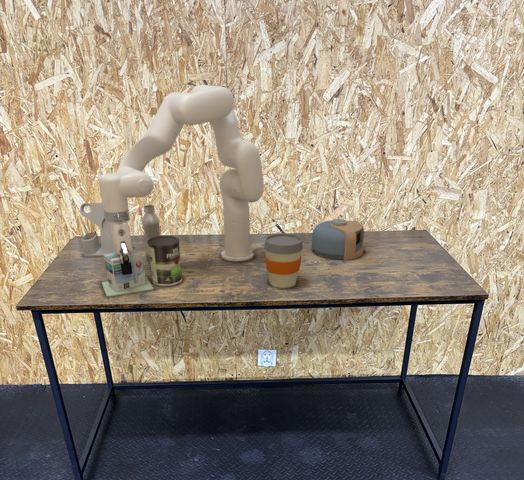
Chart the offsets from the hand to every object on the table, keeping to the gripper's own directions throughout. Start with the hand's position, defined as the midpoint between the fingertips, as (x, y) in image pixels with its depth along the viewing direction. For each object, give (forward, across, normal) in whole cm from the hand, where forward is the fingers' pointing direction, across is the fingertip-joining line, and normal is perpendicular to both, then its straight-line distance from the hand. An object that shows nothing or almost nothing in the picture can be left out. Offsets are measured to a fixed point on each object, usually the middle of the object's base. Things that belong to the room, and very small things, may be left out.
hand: (125, 269), depth 161 cm
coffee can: (+6, 0, -13) cm, 15 cm away
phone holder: (+6, +37, +1) cm, 38 cm away
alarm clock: (+6, +3, -82) cm, 82 cm away
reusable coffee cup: (+6, -17, -49) cm, 52 cm away
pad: (+6, 0, 0) cm, 6 cm away
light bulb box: (+6, 0, 0) cm, 6 cm away
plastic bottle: (+6, +21, -14) cm, 26 cm away
